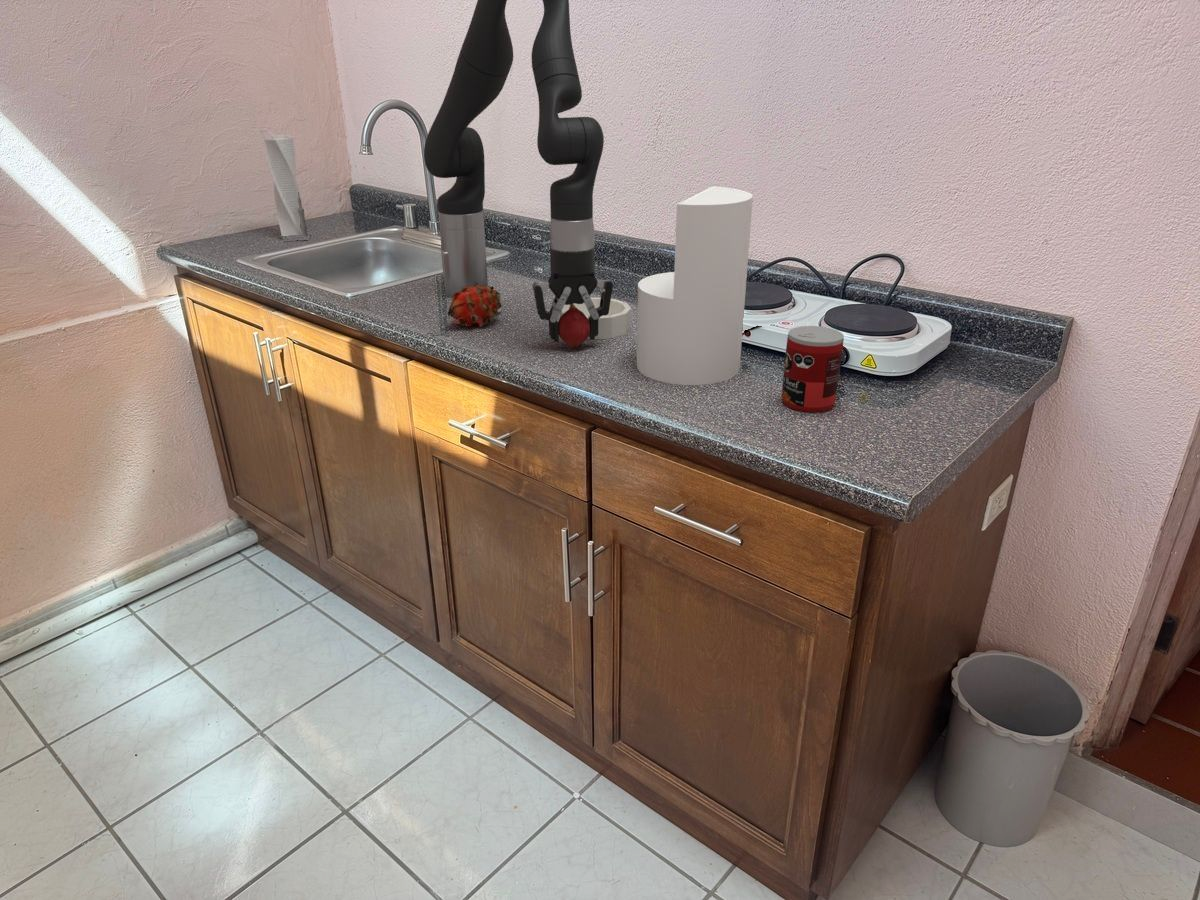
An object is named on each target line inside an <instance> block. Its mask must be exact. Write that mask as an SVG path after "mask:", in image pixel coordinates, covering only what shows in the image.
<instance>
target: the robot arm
mask: <svg viewBox="0 0 1200 900" xmlns="http://www.w3.org/2000/svg"><path fill="white" fill-rule="evenodd" d="M507 1H508V0H477V2H476V5H475V8H474V11H473V14H472V17H471V20H470V23H469V26H468V29H467V31H466V35H465V37H464V40H463V42H462V45H461V47H460V51H459V54H458V56H457V60H456V64H455V67H454V71H453V73H452V77H451V79H450V82H449V85H448V88H447V90H446V93H445V95H444V98H443V101H442V103H441V105H440V108H439V109H438V112H437V114H436V116H435V119H434V120H433V123H432V125H431V126H430V129H429V131H428V132H427V136H426V138H425V143H424V149H423V158H424V159H423V160H424V164H425V167H426V170H427V171H428V172H429V173H430V174H431V175H432V176H433V177H436V178H439V179H452V178H455V179H456V180H455V182H454V183H453V185H452V186H451V187H450V188H449V189H448V190H446V191H445V192H444V193H443V194H441V195H440V196H439V197H438V198H437V210H438V211H437V212H438V223H439V224H438V225H439V237H440V254H441V265H442V275H443V276H442V278H443V288H444V294H445V297H447V298H448V297H452V298H453V295H454V294H455V293H457V292H459V291H462V288H463V287H464V286H467V287H469V286H470V287H476V284H475V283H479V285H480V286H482V287H486V286H489V280H488V268H487V265H488V264H487V251H486V248H487V247H486V234H485V219H484V216H485V215H484V199H485V194H486V182H485V179H486V177H485V171H486V170H485V169H486V168H485V165H486V164H485V149H484V145H483V141H482V139H481V136H480V134H479V133H478V131H477V130H476V129H475V128H473V127H469V125H470V124H471V123H472V122H473V121H474V120H475V119H476V118H477V117H479V115H480V114H481V113H483V112H484V111H485V110H486V109H487V108H488V107H489V106H490V105H492V103H493V102H494V101H495V100H496V99H497V98H498V96H499V95H500V94H501V92H502V90H503V88H504V86H505V83H506V81H507V79H508V76H509V73H510V71H511V69H512V66H513V62H514V48H513V47H514V46H513V41H512V38H511V34H510V31H509V27H508V24H507V19H506V6H507ZM569 1H570V0H542V3H543V4H542V5H543V16H542V20H541V22H540V25H539V28H538V30H537V32H536V36H535V37H534V40H533V44H532V48H531V68H532V69H531V70H532V73H533V78H534V82H535V86H536V87H535V88H536V91H537V97H538V111H539V112H538V129H537V137H536V141H537V143H536V144H537V150H538V153H539V155H540V157H541V158H542V160H543V161H544V162H545V163H547V164H548V165H550V166H562V165H563V166H564V165H576V166H575V169H574V170H573V172H572V173H571V174H570V175H568V176H566V177H564V178H563V177H562V178H560V179H557V180H555V181H554V182H552V183H551V185H550V187H549V200H550V203H549V206H550V208H549V209H550V224H549V261H550V262H549V263H550V266H549V267H550V276H549V278H548V281H546V282H543V283H539V282H534V283H533V284H532V290H533V296H534V301H535V305H536V311H537V315H538V316H539V319H540V320H542V321H543V320H546V321H547V322H548V335H549V337H550V340H553V342H554V343H559V341H560V340H559V337H560V336H559V334H558V321H559V320H558V318H559V317H560V312H561V311H562V309H563V307H564V305H570V304H573V303H575V304H583V303H584V304H585V306H586V308H587V310H588V311H589V313H590V316H589V323H590V334H589V338H590V339H591V340H593V341H595V340H594V339H595V336H597V335H598V319H599V318H600V317H601V316H603V315H608V313H609V308H610V301H611V299H612V295H613V288H614V285H613V284H614V283H613V282H612V281H611V280H610V279H609V278H608V277H606V278H604V279H598V278H597V277H596V274H595V272H596V271H595V267H596V265H595V244H596V238H595V226H594V224H595V223H594V217H593V216H594V214H593V213H594V211H593V209H594V206H593V204H594V201H593V200H594V195H593V193H594V188H595V182H596V178H597V173H598V169H599V166H600V162H601V158H602V155H603V154H602V153H603V150H604V145H605V144H604V143H605V138H604V132H603V129H602V126H601V124H600V123H599V122H598V120H597V119H595V118H593V117H592V116H579V117H577V116H573V117H572V116H571V117H560V116H559V114H561V113H564V112H566V111H569V110H571V109H574V108H576V107H577V106H578V105H580V103H581V101H582V97H583V91H582V85H581V81H580V76H579V71H578V68H577V67H578V66H577V63H576V58H575V54H574V48H573V42H572V34H571V21H570V20H571V19H570V2H569ZM597 287H598V290H599V292H600V293H601V294H600V298H601V299H600V306H599V307H598V308H596V309H595V306H594V304H593V302H592V300H591V298H592V297H590V296H591V295H592V294H593V292H594V290H595V289H596V288H597ZM548 290H550V291H551V292H552V294H554V297H553V300H552V302H551V306H550V308H549V311H548V310H546V305H545V301H544V300H545V299H544V297H546V296H547V294H548V293H547V291H548ZM590 339H589V340H590Z"/></svg>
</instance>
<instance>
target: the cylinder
mask: <svg viewBox="0 0 1200 900" xmlns="http://www.w3.org/2000/svg"><path fill="white" fill-rule="evenodd" d="M753 198H754V196H753V194H752V193H750V192H748V191H746V190H742V189H738V188H732V187H727V186H725V187H724V186H715V185H714V186H710V187H708V188H706V189H705V190H702V191H700V192H698V193H697V194H695V195H692V196H690V197H689V198H687V199H685V200H682V201H680V202H679V203H676V216H675V217H676V219H675V220H676V221H675V225H676V226H675V246H674V248H675V250H674V271H667V272H663V273H662V272H661V273H656V274H653V275H648V276H645V277H644V278H642V279H640V280H639V282H637V316H636V317H637V318H636V319H637V326H636V369H637V370H638V371H639V373H640V374H642V375H643V376H645V377H647V378H649V379H651V380H654V381H656V382H657V381H658V382H661V383H665V384H670V385H680V386H703V385H706V386H707V385H713V384H718V383H721V382H725V381H728V380H730V379H732V378H734V377H735V376H736V375H738V373H739V371H740V369H741V367H740V366H741V354H742V343H743V342H742V341H743V334H742V331H743V318H744V309H745V301H746V291H747V289H746V288H747V275H748V265H749V264H748V263H749V252H750V251H749V250H750V249H749V248H750V240H751V239H750V238H751V223H752V213H753V212H752V211H753V210H752V209H753V200H754V199H753Z"/></svg>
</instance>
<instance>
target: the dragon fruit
mask: <svg viewBox="0 0 1200 900" xmlns="http://www.w3.org/2000/svg"><path fill="white" fill-rule="evenodd" d="M475 284H476V287H470V286H469V287H467V286H464V287H463V288H462V291H459V292H457V293H455V294H454V295H453V297H452V301H451V304H450V305H449V309H448V311H447V316H448V317H451V318H452V319H454V320H453V323H454V324H455V325H456V327H466V326H465V325H467V327H471V326H472V325H475V324H478V326H479V328H483V326H485V324H489V323H490V322H491V319H494V318H497V317H498V315H501V314H502V312H503V311H499V310H500V309H501V308H502V303H501V299H502V298H501V293H500V292H498V291H497V290H496V289H494V286H493V285H492V286H491V285H488V286H486V287H482V286H480V285H479V283H475Z"/></svg>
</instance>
